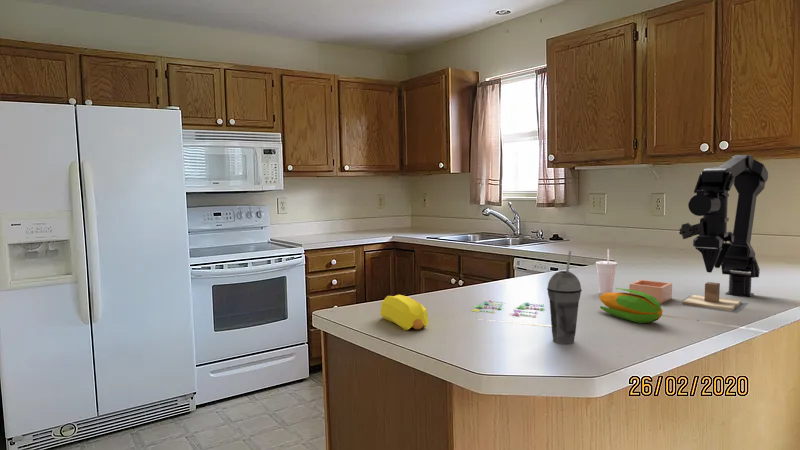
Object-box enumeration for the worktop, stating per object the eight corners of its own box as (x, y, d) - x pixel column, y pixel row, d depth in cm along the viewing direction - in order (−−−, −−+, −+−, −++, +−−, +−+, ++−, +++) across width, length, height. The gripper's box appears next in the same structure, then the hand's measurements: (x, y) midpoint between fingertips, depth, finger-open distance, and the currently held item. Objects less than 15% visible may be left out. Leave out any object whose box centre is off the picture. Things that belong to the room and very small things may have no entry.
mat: (689, 297, 161) (689, 295, 161) (748, 304, 151) (748, 303, 151) (674, 306, 150) (674, 304, 150) (736, 314, 140) (736, 313, 140)
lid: (693, 297, 159) (694, 277, 158) (741, 303, 150) (742, 282, 150) (682, 304, 150) (682, 283, 149) (731, 311, 142) (732, 289, 141)
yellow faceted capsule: (405, 334, 126) (434, 330, 129) (405, 306, 125) (434, 303, 128) (375, 317, 142) (401, 314, 145) (375, 292, 141) (401, 289, 144)
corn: (648, 296, 127) (589, 282, 146) (646, 328, 128) (587, 310, 146) (671, 296, 130) (610, 282, 149) (669, 327, 131) (608, 309, 149)
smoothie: (618, 295, 165) (619, 250, 163) (596, 294, 166) (597, 249, 165) (614, 291, 171) (615, 247, 170) (593, 290, 172) (594, 247, 171)
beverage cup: (541, 336, 122) (542, 249, 120) (572, 335, 122) (574, 248, 121) (553, 346, 115) (554, 253, 113) (586, 345, 115) (588, 252, 114)
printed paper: (437, 316, 143) (437, 311, 143) (471, 296, 170) (471, 291, 170) (552, 328, 130) (552, 322, 130) (570, 304, 157) (570, 299, 157)
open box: (639, 295, 164) (640, 279, 163) (671, 300, 158) (672, 283, 157) (629, 300, 157) (629, 284, 157) (661, 305, 151) (662, 287, 151)
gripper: (692, 211, 160) (690, 263, 162) (673, 215, 147) (671, 271, 148) (735, 212, 153) (733, 266, 154) (719, 216, 139) (717, 276, 140)
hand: (713, 270), depth 149 cm, fingers open, 9 cm apart
